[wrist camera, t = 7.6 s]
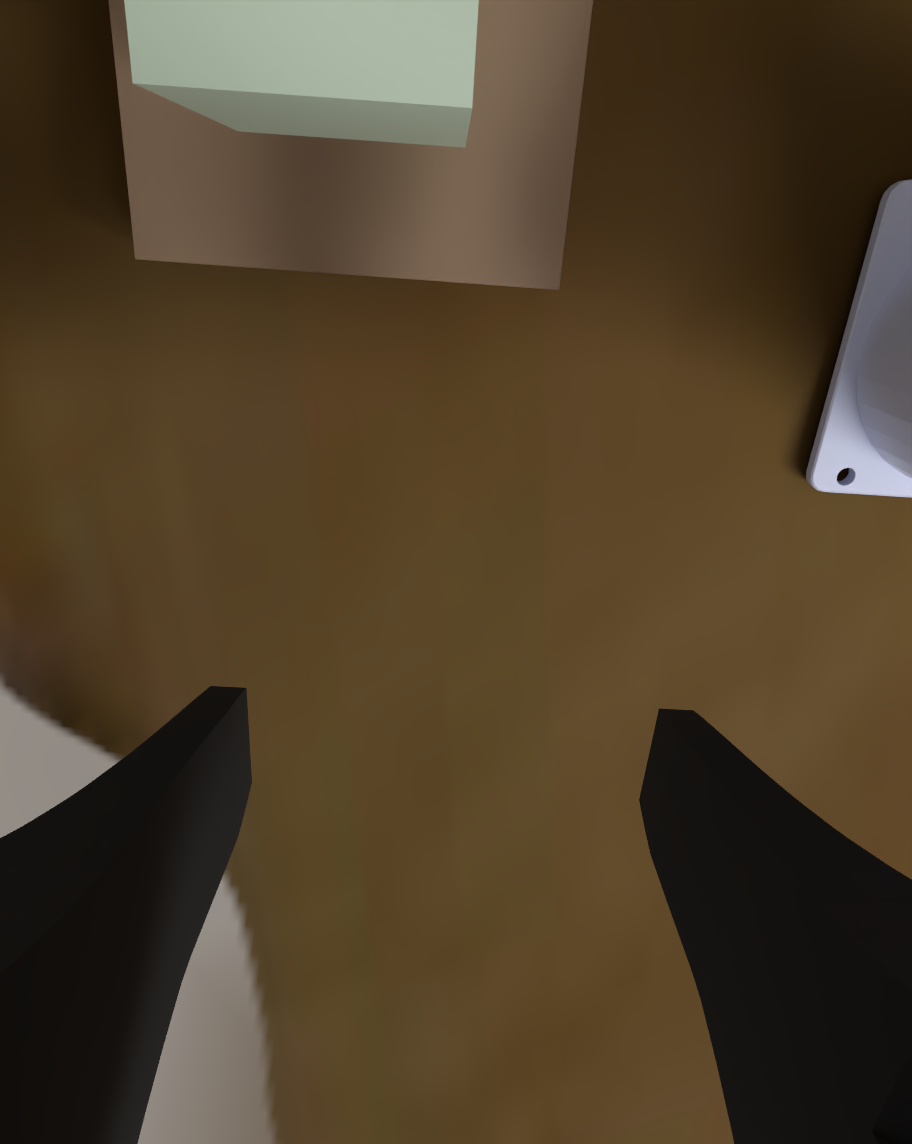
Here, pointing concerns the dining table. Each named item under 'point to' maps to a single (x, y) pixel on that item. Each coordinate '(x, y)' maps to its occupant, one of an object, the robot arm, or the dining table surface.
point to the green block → (313, 65)
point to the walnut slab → (375, 172)
